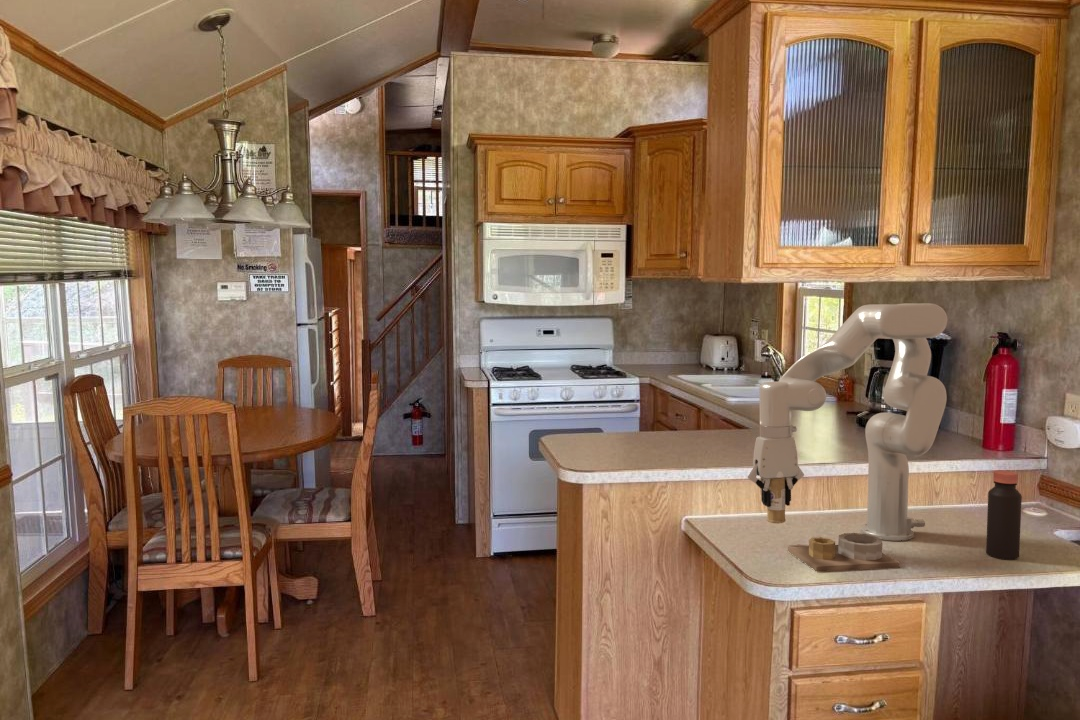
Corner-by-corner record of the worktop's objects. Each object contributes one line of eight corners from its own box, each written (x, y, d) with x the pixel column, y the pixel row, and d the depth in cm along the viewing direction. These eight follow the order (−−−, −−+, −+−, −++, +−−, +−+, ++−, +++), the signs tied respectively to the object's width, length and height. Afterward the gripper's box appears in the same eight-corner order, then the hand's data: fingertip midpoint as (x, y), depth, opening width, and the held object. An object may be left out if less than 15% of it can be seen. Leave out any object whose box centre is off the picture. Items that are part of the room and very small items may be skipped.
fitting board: (864, 548, 188) (865, 529, 187) (899, 567, 174) (899, 547, 174) (787, 552, 185) (787, 532, 185) (816, 571, 171) (816, 551, 171)
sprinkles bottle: (763, 522, 190) (763, 468, 189) (771, 517, 194) (770, 465, 193) (781, 525, 187) (781, 471, 186) (789, 520, 191) (788, 467, 190)
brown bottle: (980, 551, 185) (983, 469, 184) (1008, 551, 185) (1011, 469, 184) (995, 560, 178) (999, 475, 177) (1025, 560, 178) (1029, 475, 177)
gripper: (800, 427, 194) (801, 498, 195) (736, 431, 191) (737, 503, 193) (815, 432, 186) (815, 506, 188) (749, 436, 184) (750, 511, 185)
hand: (776, 504), depth 190 cm, fingers closed on sprinkles bottle, 4 cm apart
